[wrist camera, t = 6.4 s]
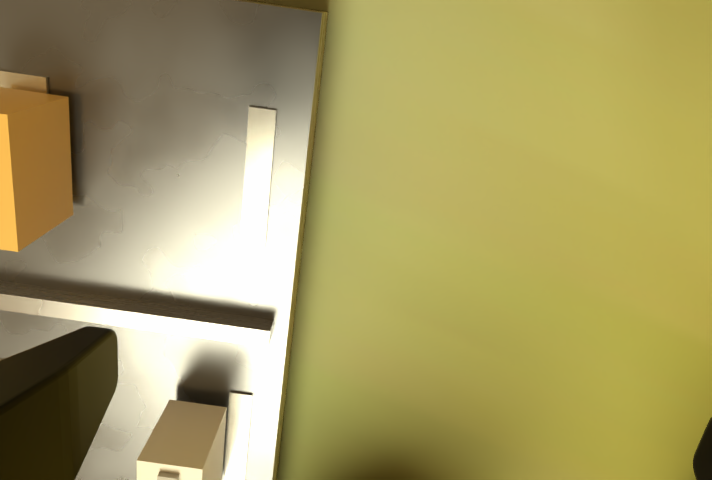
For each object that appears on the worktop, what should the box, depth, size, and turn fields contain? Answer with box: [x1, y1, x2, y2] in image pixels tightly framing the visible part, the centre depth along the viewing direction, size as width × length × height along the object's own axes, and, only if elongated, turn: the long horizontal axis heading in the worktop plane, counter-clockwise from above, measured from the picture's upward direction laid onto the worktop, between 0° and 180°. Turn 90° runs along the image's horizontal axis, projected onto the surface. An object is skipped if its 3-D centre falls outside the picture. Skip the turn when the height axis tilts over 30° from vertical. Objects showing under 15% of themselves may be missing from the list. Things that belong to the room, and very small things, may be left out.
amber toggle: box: [0, 87, 73, 252], centre depth 16 cm, size 2×4×3 cm, turn 172°
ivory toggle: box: [137, 400, 227, 480], centre depth 20 cm, size 2×4×3 cm, turn 172°
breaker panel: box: [0, 0, 328, 480], centre depth 21 cm, size 12×20×3 cm, turn 172°
